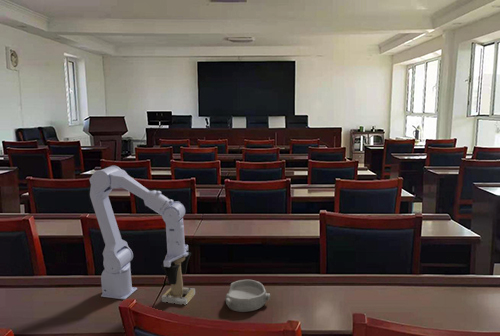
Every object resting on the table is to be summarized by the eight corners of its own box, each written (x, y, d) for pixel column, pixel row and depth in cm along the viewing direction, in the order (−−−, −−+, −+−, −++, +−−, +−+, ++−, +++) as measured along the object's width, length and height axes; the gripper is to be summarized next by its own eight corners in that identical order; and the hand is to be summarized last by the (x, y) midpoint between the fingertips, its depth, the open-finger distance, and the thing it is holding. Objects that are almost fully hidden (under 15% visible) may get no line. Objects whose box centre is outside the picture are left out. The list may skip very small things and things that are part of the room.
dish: (227, 316, 126) (226, 301, 125) (222, 294, 140) (222, 281, 139) (273, 311, 128) (272, 296, 128) (264, 290, 142) (264, 277, 141)
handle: (184, 302, 135) (181, 259, 132) (165, 301, 136) (163, 258, 133) (189, 295, 139) (186, 253, 137) (171, 294, 140) (168, 252, 138)
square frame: (162, 301, 135) (161, 295, 135) (172, 291, 143) (172, 285, 142) (186, 305, 133) (185, 298, 133) (195, 293, 140) (195, 288, 140)
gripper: (177, 248, 126) (179, 289, 129) (195, 233, 140) (197, 270, 142) (156, 247, 128) (159, 287, 130) (176, 231, 142) (178, 268, 144)
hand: (177, 278), depth 137 cm, fingers open, 7 cm apart
